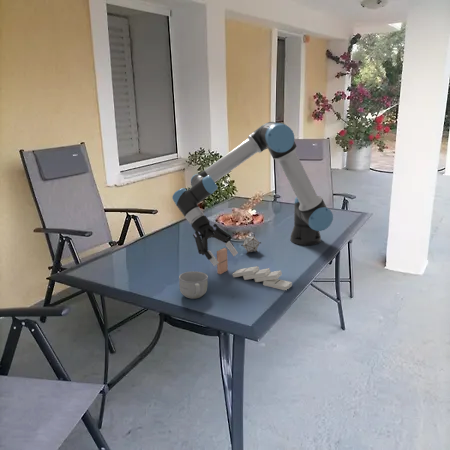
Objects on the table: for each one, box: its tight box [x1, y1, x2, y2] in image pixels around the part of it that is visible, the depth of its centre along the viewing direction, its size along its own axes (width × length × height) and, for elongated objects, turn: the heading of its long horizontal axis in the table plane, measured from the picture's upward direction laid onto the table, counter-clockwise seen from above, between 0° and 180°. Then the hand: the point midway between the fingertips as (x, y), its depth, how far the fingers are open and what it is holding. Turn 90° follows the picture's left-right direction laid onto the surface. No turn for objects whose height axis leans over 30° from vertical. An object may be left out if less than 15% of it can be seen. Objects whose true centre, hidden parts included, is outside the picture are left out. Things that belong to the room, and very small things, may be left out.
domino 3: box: [242, 267, 272, 281], centre depth 177 cm, size 2×5×10 cm
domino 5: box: [262, 278, 293, 291], centre depth 172 cm, size 2×5×10 cm
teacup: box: [178, 270, 209, 300], centre depth 164 cm, size 14×11×8 cm
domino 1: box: [216, 247, 229, 275], centre depth 185 cm, size 2×5×10 cm, turn 142°
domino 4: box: [253, 270, 283, 283], centre depth 175 cm, size 2×5×10 cm
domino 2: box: [232, 265, 260, 278], centre depth 180 cm, size 2×5×10 cm
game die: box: [240, 234, 262, 254], centre depth 207 cm, size 9×8×10 cm
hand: (226, 259), depth 184 cm, fingers open, 13 cm apart
